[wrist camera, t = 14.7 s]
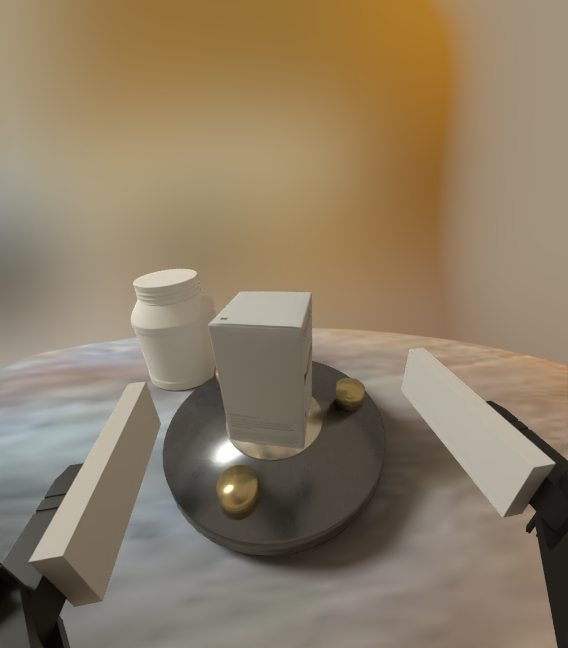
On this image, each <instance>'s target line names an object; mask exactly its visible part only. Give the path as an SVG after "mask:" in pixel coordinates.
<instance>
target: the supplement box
mask: <svg viewBox="0 0 568 648" xmlns="http://www.w3.org/2000/svg"><path fill="white" fill-rule="evenodd" d="M208 328H209V333H210V338H211V343H212V348H213V353H214V358H215V363H216V368H217V373H218V378H219V383H220V389H221V393H222V398H223V403H224V408H225V413H226V419H227V424H228V428H229V433H230V439H232V440H239V441H246V442H253V443H260V444H267V445H274V446H282V447H290V448H299V449H303V448H304V447H305V435H306V427H307V420H308V413H309V407H310V401H311V397H312V294H311V292H239V293H238V294H237V295H236V296H235V297H234V298H233V299H232V300H231V301H230V302H229V304H228V305H227V306H225V307H224V309H223V310H222V311H221V312H220V313H219V314H218V315H217V316H216V317H215V318H214V319H213V320H212V321H211V322H210V323H209V324H208Z"/></svg>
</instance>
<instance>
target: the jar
mask: <svg viewBox="0 0 568 648" xmlns="http://www.w3.org/2000/svg"><path fill="white" fill-rule="evenodd" d="M133 285H134V288H135V292H136V294H137V297H138V301H137V303H136V305H135V307H134V309H133V312H132V316H131V324H132V326H133V329H134V330H135V332H136V335H137V338H138V341H139V344H140V347H141V350H142V352H143V355H144V358H145V361H146V364H147V367H148V369H149V374H150V377H151V380H152V382H153V383H154V384H155V385H156V386H157V387H159V388H161V389H165V390H172V391H178V390H186V389H191V388H195V387H198V386H200V385H202V384H203V383H205V382H206V381H208V380H209V379H211V378H212V377H213V376H214V370H215V367H216V363H215V358H214V353H213V348H212V343H211V338H210V333H209V328H208V324H209V323H210V322H211V321H212V320H213V319H214V318H215V317H216V314H215V305H214V301H213V299H212V298H211V297H210V296H208V295H207V294H206V293H205V292H204V291H203V290H202V289H201V287H200V283H199V278H198V274H197V272H196V271H194V270H189V269H172V270H164V271H159V272H154V273H150V274H147V275H144V276H141V277H139V278H137V279H136V280H135V281H134V282H133Z"/></svg>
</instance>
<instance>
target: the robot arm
mask: <svg viewBox="0 0 568 648" xmlns="http://www.w3.org/2000/svg"><path fill="white" fill-rule="evenodd" d="M401 391H402V392H403V393H404V395H405V396H406V397H407V398H408V400H409V401H410V402H411V403H412V405H413V406H414V407H415V408H416V410H417V411H418V412H419V413H420V415H421V416H422V417H423V418H424V420H425V421H426V422H427V423H428V425H429V426H430V427H431V428H432V430H433V431H434V432H435V433H436V435H437V436H438V437H439V438H440V440H441V441H442V442H443V443H444V445H445V446H446V447H447V448H448V450H449V451H450V452H451V454H452V455H453V456H454V457H455V459H456V460H457V461H458V462H459V464H460V465H461V466H462V467H463V469H464V470H465V471H466V472H467V474H468V475H469V476H470V477H471V479H472V480H473V481H474V482H475V484H476V485H477V486H478V487H479V489H480V490H481V491H482V492H483V494H484V495H485V496H486V497H487V499H488V500H489V501H490V502H491V504H492V505H493V506H494V507H495V509H496V510H497V511H498V512H499V514H500V515H501V516H502V518H503V517H508V516H513V515H518V514H522V513H523V511H524V510H525V508H526V507H527V505H528V504H530V505H531V506H532V507H533V508H534V509H535V510H536V513H535V515H534V516H533V517H532V519H531V520H530V522H529V523H528V524H527V526H526V532H528V533H531V531H532V530H533V529H534V527H535V526H536V531H537V534H536V536H537V537H538V542H539V548H540V553H541V559H542V564H543V570H544V575H545V580H546V586H547V591H548V597H549V602H550V608H551V613H552V619H553V624H554V630H555V635H556V641H557V646H558V648H568V460H566V459H565V458H564V457H563V456H562V455H560V454H559V453H558V452H557V451H556V450H554V449H553V448H552V447H551V446H550V445H548V444H547V443H546V442H545V441H544V440H542V439H541V438H540V437H539V436H538V435H536V434H535V433H534V432H533V431H532V430H529V429H528V427H527V426H526V425H524V424H523V423H522V422H521V421H518V419H517V418H516V417H515V416H514V415H512V414H511V413H510V412H509V411H508V410H506V409H505V408H503V407H501V406H499V405H498V404H496V403H494V402H492V401H486V402H485V401H484V400H483V399H482V398H480V397H479V396H478V395H477V394H476V393H475V392H474V391H472V390H471V389H470V388H469V387H468V386H467V385H466V384H464V383H463V382H462V381H461V380H460V379H459V378H457V377H456V376H455V375H454V374H453V373H452V372H451V371H449V370H448V369H447V368H446V367H445V366H444V365H443V364H441V363H440V362H439V361H438V360H437V359H436V358H435V357H433V356H432V355H431V354H430V353H429V352H428V351H427V350H425V349H424V348H417V349H410V350H409V355H408V359H407V364H406V369H405V374H404V378H403V383H402V388H401ZM160 425H161V423H160V420H159V417H158V414H157V411H156V409H155V406H154V403H153V400H152V397H151V395H150V392H149V389H148V386H147V383H146V382H139V383H130V384H128V385H127V387H126V389H125V391H124V393H123V394H122V396H121V398H120V400H119V401H118V403H117V405H116V407H115V409H114V410H113V412H112V414H111V416H110V418H109V419H108V421H107V423H106V425H105V426H104V428H103V430H102V432H101V434H100V435H99V437H98V439H97V441H96V442H95V444H94V446H93V448H92V450H91V451H90V453H89V455H88V457H87V458H86V460H85V462H84V463H82V464H76V465H70V466H69V467H68V468H67V469H66V470H65V471H64V472H63V473H62V474H61V475H60V476H59V477H58V478H57V479H56V480H55V481H54V483H53V484H52V486H51V488H50V489H49V491H48V492H47V494H46V496H45V499H44V500H42V502H41V503H40V505H39V507H38V508H37V510H36V514H34V515H33V516H32V518H31V519H30V521H29V523H28V524H27V526H26V527H25V529H24V531H23V532H22V534H21V535H20V537H19V539H18V540H17V542H16V543H15V545H14V547H13V548H12V550H11V551H10V553H9V555H8V556H7V558H6V559H5V561H4V562H3V564H1V563H0V648H70V646H69V642H68V638H67V635H66V631H65V627H64V624H63V620H62V619H61V617H60V616H59V615H60V612H61V610H62V607H63V605H64V603H65V600H66V599H67V600H68V601H69V602H70V603H71V604H72V605H73V606H74V607H76V606H80V605H85V604H90V603H95V602H100V601H103V598H104V595H105V592H106V589H107V586H108V583H109V580H110V577H111V574H112V571H113V568H114V565H115V561H116V558H117V555H118V552H119V549H120V546H121V543H122V540H123V537H124V534H125V531H126V528H127V525H128V522H129V519H130V516H131V513H132V510H133V507H134V504H135V501H136V498H137V495H138V492H139V489H140V486H141V483H142V480H143V477H144V474H145V471H146V467H147V464H148V461H149V458H150V455H151V452H152V449H153V446H154V443H155V440H156V437H157V434H158V431H159V428H160Z"/></svg>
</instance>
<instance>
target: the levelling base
mask: <svg viewBox="0 0 568 648" xmlns="http://www.w3.org/2000/svg"><path fill="white" fill-rule="evenodd" d="M215 374H216V376H214V377H212V378H211V379H209V380H208V381H206V382H205V383H203V384H202V385H201V386H199V387H198V388H197V389H196V390H195V391H194V392H192V394H191V395H190V396H189V397H188V398H187V399H186V400H185V401H184V402H183V404H182V405H181V406H180V407H179V409H178V410H177V412H176V414H175V415H174V417H173V419H172V421H171V423H170V425H169V428H168V430H167V433H166V437H165V441H164V448H163V468H164V472H165V476H166V480H167V483H168V485H169V488H170V490H171V492H172V495H173V497H174V499H175V502H176V504H177V506H178V508H179V510H180V511H181V512H182V514H183V515H184V517H185V518H186V520H187V521H188V522H189V523H190V524H191V525H192V526H193V527H194V528H195V529H196V530H197V531H198V532H199V533H201V534H202V535H204V536H205V537H207V538H208V539H210V540H211V541H213V542H215V543H217V544H219V545H221V546H223V547H226V548H228V549H231V550H235V551H238V552H242V553H246V554H254V555H266V556H269V555H282V554H290V553H294V552H298V551H303V550H307V549H309V548H312V547H314V546H316V545H319V544H321V543H324V542H326V541H327V540H329V539H331V538H332V537H334V536H336V535H337V534H339V533H341V532H342V531H343V530H344V529H345V528H347V527H348V526H349V525H350V524H351V523H352V522H354V521H355V520H356V518H357V517H358V516H359V515H360V514H361V513H362V511H363V510H364V509H365V508H366V506H367V505H368V503H369V501H370V500H371V498H372V496H373V495H374V493H375V490H376V487H377V485H378V482H379V480H380V475H381V470H382V465H383V460H384V454H385V431H384V425H383V422H382V419H381V415H380V413H379V411H378V409H377V407H376V405H375V404H374V402H373V401H372V399H371V398H370V396H369V395H368V394H367V393H366V392H365V387H364V385H363V384H362V383H361V382H360V381H359V380H357V379H353V378H350V377H348V376H347V375H345V374H343V373H342V372H340V371H338V370H336V369H334V368H331V367H329V366H327V365H324V364H321V363H317V362H313V361H312V397H311V401H310V407H309V413H308V420H307V427H306V435H305V447H304V448H303V449H299V448H290V447H282V446H274V445H267V444H260V443H253V442H246V441H239V440H232V439H230V433H229V428H228V424H227V419H226V413H225V408H224V403H223V398H222V393H221V389H220V383H219V378H218V373H217V368H216V369H215Z"/></svg>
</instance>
